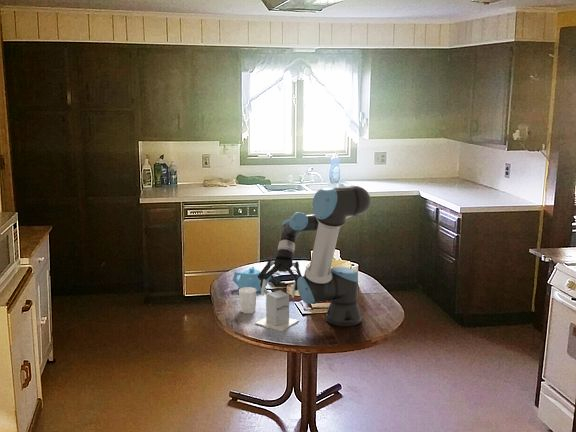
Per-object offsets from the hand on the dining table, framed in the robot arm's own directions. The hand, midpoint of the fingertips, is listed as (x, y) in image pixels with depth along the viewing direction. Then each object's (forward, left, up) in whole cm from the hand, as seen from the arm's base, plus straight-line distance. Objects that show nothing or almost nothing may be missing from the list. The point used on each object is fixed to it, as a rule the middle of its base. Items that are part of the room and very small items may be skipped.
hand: (277, 295), depth 266 cm
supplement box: (-2, +2, -11) cm, 11 cm away
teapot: (+34, -27, -12) cm, 45 cm away
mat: (-1, +2, -11) cm, 12 cm away
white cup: (+18, -2, -12) cm, 21 cm away
